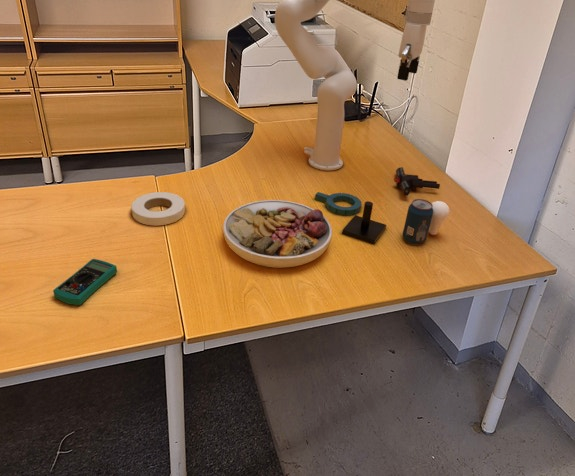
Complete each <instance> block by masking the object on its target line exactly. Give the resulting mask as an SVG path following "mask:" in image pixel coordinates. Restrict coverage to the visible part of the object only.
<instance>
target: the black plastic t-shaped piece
mask: <svg viewBox="0 0 575 476" xmlns="http://www.w3.org/2000/svg"><path fill="white" fill-rule="evenodd" d="M395 174H396V177H394V179H393V181H394V183H396V189H401V190H402V193H403V195H404V196H405V197H408V196H409V195H410V194H411V193H412V191H417V189H418V188H420V189H423V188H424V189H425V188H426V189H436V190H440V187H441V184H440V183H438V181H435V180H425V179H422V178H419V175H416V174H407V173H405V170H404V167H402V166H400V167H398V168H397V169H395Z"/></svg>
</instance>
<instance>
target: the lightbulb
mask: <svg viewBox="0 0 575 476" xmlns="http://www.w3.org/2000/svg"><path fill="white" fill-rule="evenodd" d="M431 204H432V205H433V207H432V208H433V216H432V219H431V223H430V227H429V231H428V234H430V235H431V236H435V235H437V234H438V232H439V230H440V228H441V225H442V224H443V222H445V221H446V220H447V219H448V218H449V216H450V207H449V206H448V204H447V203H446V202H444V201H442V200H436V201H433V202H431Z"/></svg>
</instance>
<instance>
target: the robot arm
mask: <svg viewBox="0 0 575 476" xmlns="http://www.w3.org/2000/svg"><path fill="white" fill-rule="evenodd" d="M329 2H330V0H281V1H280V2H278V5H277V7H276V9H275V13H274V26H275V29H276V32H277V34H278V36H279V37H280V38H281V40H282V41H283V43H284V44H285V45H286V47H287V48H288V50H289V51H290V53H291V54H292V56H293V57H294V58H295V60H296V61H297V63H298V65H299V66H300V67H301V69H302V70H303V72H304V73H305V75H306V76H307V77H308V78H310V79H311V80H318V79H321V78H324V80H323V81H322V82H321V83H320V84H319V86H318V88H317V93H316V94H317V95H316V101H317V112H316V113H317V114H316V125H315V134H314V135H315V137H314V145H313V148H312V147H310V146H305V147H304V148H303V151H304V155H309V158H308V164H309V165H310V166H311V167H312V168H315V169H317V170H321V171H330V172H331V171H336V170H340V169H341V168H342V167H343V164H344V161H343V159H342V158H340V157H341V156H340V153H341V147H342V140H343V131H344V123H345V102H346V101H347V100H349V99H350V98H351V97H353V96H354V95H355V93H356V92H357V89H358V82H357V79H356V76H355V75H354V73H353V71H352V70H351V68H350V67H349V66H348V64H347V63H346V61H345V60H344V58H343V57H342V55H341V54H340V53H339V51H337V49H336V48H334V47H333V46H331V45H328V44H327V45H326V44H325V45H319V44H318V43H317V41H316V40H315V39H314V37H313V36H312V34H311V33H310V32H309V31H308V30H307V29H306V28H305V27H304V26H303V25H302V23H303V22H305V21H309V20H312V19H313V18H314V17H315V16H317V15H318V14H319V13H320V12H321V11H322V9H323V8H324V7H325V6H326V5H327V4H328V3H329ZM435 2H436V0H407V6H406V10H405V16H404V20H403V21H404V23H405V26H404V29H403V33H402V37H401V41H400V45H399V50H398V55H397V56H398V58H401V59H400V60H399V61H400V62H399V66H398V71H397V76H396V78H397V80H401V81H408V79H409V75H410V74H415V75H416V74H417V73H418V69H419V63H420V58H421V55H422V52H423V48H424V45H425V38H426V33H427V26H430V25H431V21H432V17H433V11H434V7H435Z"/></svg>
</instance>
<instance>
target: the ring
mask: <svg viewBox="0 0 575 476" xmlns="http://www.w3.org/2000/svg"><path fill="white" fill-rule="evenodd" d="M314 200H315V201H319V202H321V203H325V208H326V209H327V210H328V212H330V213H333V214H334V215H338V216H347V217H348V216H355V215H357V214H359V213H360V211H361V207H362V200H361V199H360V198H359V197H357V196H356V195H354V194H350V193H346V192H334V193H331V194H327V193H324V192H320V191H317V192H316V193H315V196H314ZM336 202H345V203H348V204H351V206H341V205H338V204H337V203H336Z"/></svg>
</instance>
